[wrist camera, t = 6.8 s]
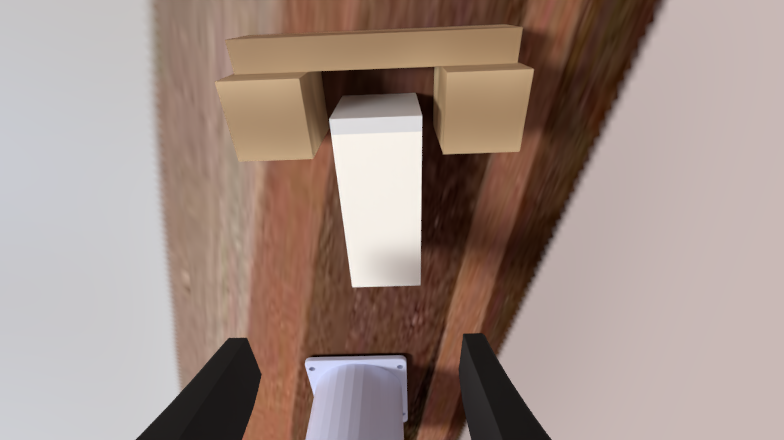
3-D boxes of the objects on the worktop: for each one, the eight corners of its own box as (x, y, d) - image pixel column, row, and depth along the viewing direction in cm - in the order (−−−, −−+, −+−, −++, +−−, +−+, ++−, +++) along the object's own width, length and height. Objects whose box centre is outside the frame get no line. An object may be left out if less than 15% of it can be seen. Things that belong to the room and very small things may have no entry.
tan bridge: (493, 122, 16) (519, 151, 13) (269, 130, 17) (238, 161, 13) (505, 24, 14) (541, 29, 11) (247, 35, 14) (203, 43, 11)
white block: (415, 239, 20) (420, 285, 17) (358, 241, 20) (352, 287, 17) (415, 92, 16) (422, 115, 12) (342, 95, 16) (329, 119, 12)
